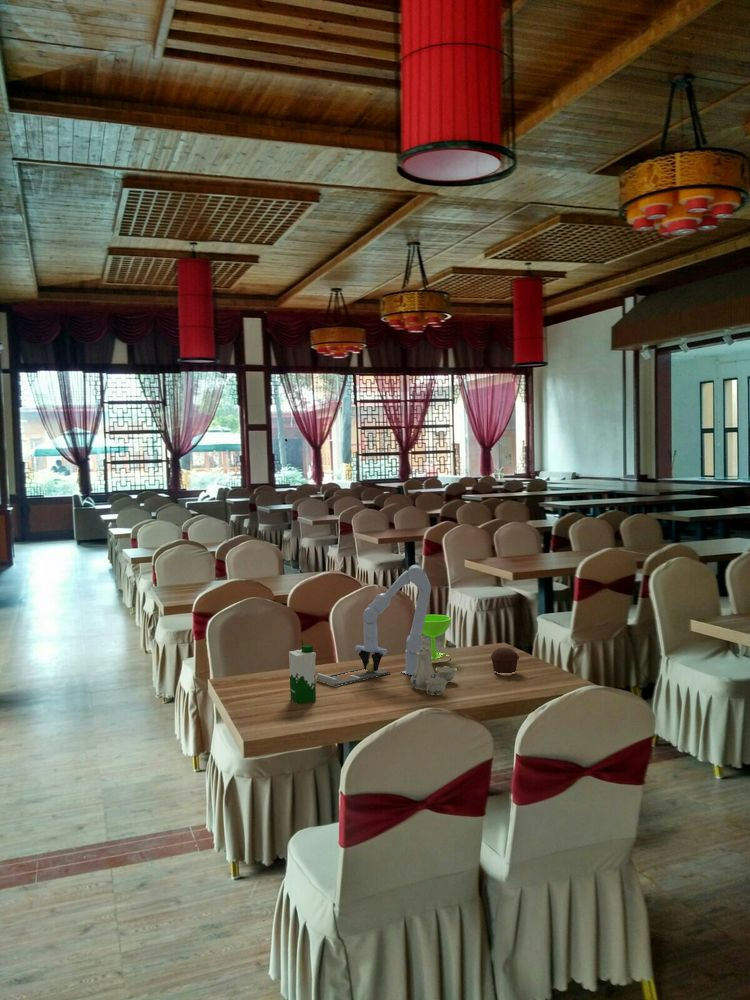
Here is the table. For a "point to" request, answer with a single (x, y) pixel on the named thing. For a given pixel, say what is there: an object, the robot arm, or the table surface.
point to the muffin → (504, 660)
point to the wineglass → (435, 630)
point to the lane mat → (356, 677)
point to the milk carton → (302, 675)
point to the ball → (370, 667)
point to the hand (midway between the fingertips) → (371, 669)
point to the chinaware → (430, 674)
